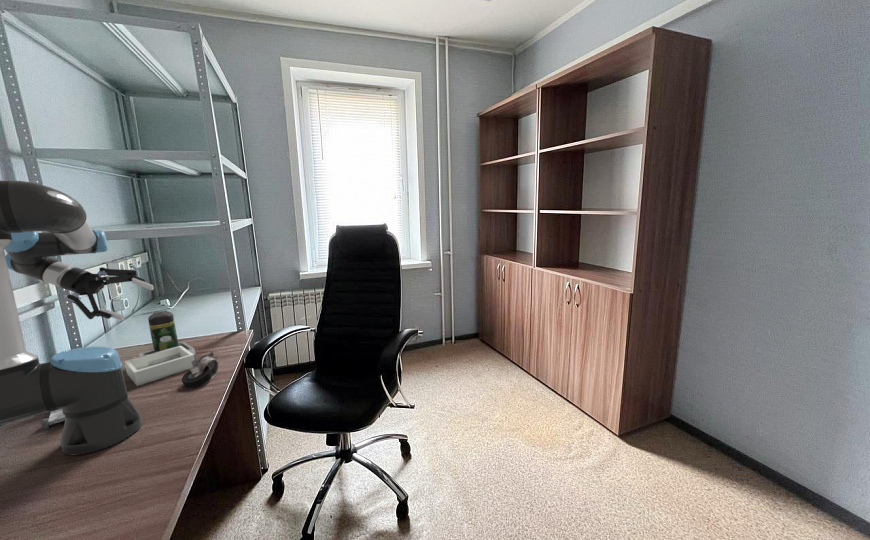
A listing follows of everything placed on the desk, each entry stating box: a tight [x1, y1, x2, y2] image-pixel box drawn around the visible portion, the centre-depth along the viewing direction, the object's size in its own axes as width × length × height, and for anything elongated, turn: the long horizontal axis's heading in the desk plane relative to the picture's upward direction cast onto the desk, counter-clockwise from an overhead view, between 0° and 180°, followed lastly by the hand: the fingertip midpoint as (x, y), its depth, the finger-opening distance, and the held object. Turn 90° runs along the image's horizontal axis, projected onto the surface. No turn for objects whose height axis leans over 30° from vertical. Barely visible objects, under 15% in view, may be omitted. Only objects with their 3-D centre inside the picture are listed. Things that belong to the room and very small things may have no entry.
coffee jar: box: [148, 310, 179, 353], centre depth 136 cm, size 10×8×19 cm
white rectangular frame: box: [138, 341, 196, 366], centre depth 137 cm, size 13×15×2 cm
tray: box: [124, 346, 196, 387], centre depth 125 cm, size 15×17×5 cm
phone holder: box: [42, 409, 65, 431], centre depth 99 cm, size 18×10×12 cm
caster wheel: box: [181, 351, 219, 389], centre depth 117 cm, size 7×11×10 cm
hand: (138, 302), depth 118 cm, fingers open, 13 cm apart
